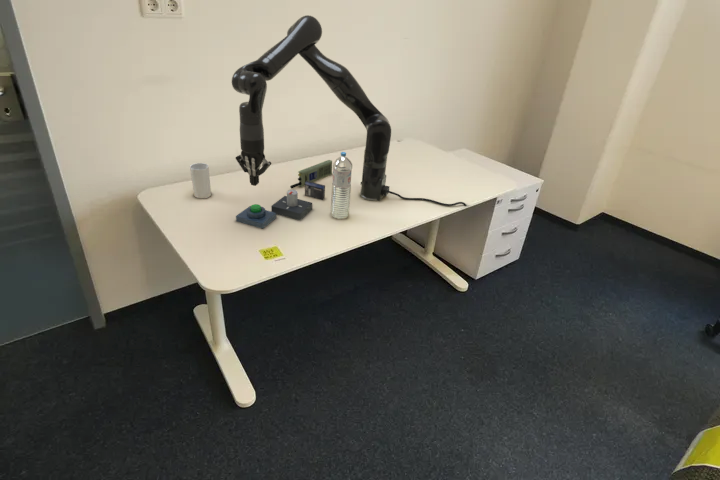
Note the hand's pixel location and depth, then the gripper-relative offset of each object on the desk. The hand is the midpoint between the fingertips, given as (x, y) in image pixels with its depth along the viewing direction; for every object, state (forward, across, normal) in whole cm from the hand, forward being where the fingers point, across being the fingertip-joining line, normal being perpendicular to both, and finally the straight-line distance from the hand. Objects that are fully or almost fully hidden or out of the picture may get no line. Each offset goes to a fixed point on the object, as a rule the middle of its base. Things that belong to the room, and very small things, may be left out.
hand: (254, 184), depth 147 cm
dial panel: (+14, -8, -12) cm, 20 cm away
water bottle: (+14, -25, -18) cm, 34 cm away
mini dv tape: (+14, -10, -27) cm, 32 cm away
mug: (+14, +30, -7) cm, 34 cm away
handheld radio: (+14, -2, -40) cm, 42 cm away
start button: (+10, 0, 0) cm, 10 cm away
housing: (+14, 0, 0) cm, 14 cm away
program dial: (+11, -8, -12) cm, 18 cm away
